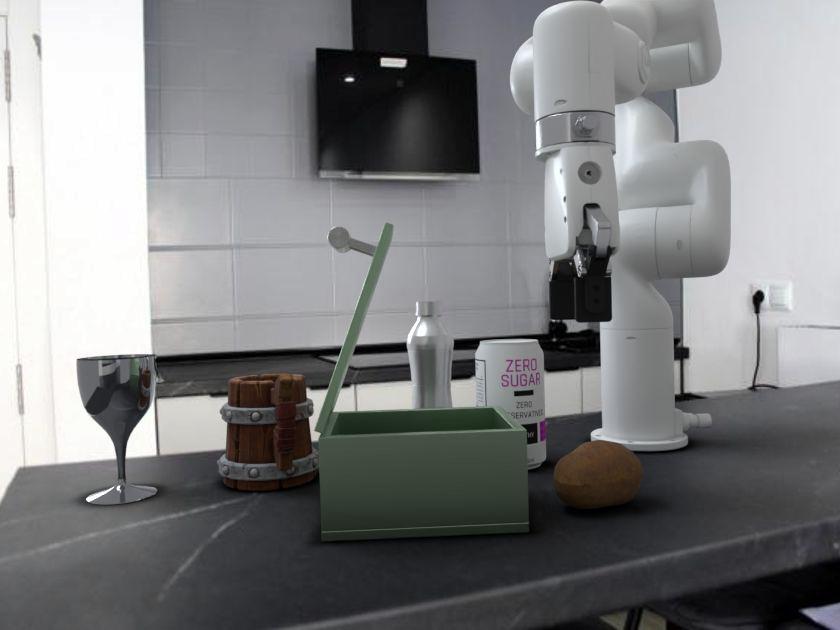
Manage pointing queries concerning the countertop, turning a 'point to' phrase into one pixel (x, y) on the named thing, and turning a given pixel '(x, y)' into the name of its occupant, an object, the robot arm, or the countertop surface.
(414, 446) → the green box
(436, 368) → the silver metal bottle
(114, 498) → the wine glass
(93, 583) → the countertop surface
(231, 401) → the mug
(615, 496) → the potato
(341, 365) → the lid
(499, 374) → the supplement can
